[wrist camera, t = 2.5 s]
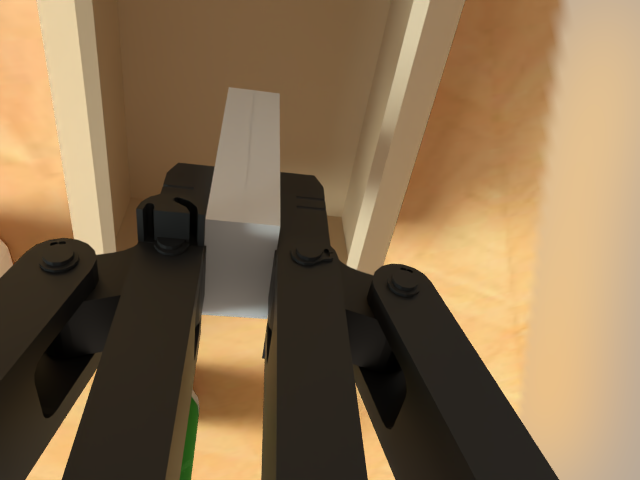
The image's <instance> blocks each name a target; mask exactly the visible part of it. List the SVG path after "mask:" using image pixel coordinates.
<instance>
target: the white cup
mask: <svg viewBox="0 0 640 480" xmlns="http://www.w3.org/2000/svg"><path fill="white" fill-rule="evenodd" d="M12 266H13V263H12V259H11V256H10V252H9V249H8V247H7V246H6V245H5V243H4V242H3V241H2V240H1V239H0V278H1V277H2V276H3V275H4V274H5V273H6V272H7V271H8V270H9V269H10V268H11V267H12Z"/></svg>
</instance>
